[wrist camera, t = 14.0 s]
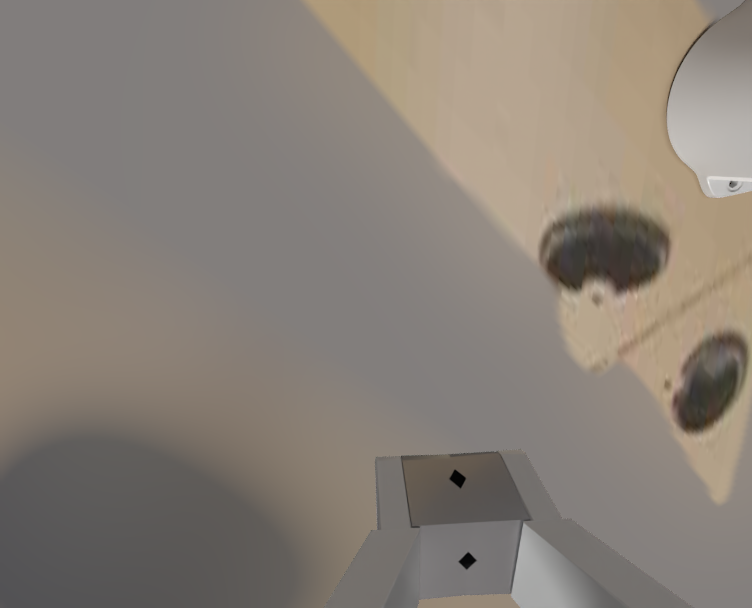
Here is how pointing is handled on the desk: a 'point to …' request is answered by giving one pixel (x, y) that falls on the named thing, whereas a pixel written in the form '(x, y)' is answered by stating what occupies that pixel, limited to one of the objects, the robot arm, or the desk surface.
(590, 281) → the desk surface
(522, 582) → the robot arm
